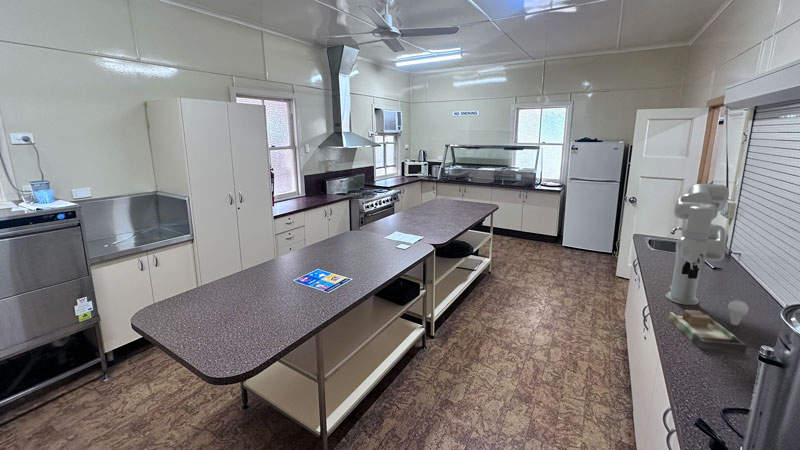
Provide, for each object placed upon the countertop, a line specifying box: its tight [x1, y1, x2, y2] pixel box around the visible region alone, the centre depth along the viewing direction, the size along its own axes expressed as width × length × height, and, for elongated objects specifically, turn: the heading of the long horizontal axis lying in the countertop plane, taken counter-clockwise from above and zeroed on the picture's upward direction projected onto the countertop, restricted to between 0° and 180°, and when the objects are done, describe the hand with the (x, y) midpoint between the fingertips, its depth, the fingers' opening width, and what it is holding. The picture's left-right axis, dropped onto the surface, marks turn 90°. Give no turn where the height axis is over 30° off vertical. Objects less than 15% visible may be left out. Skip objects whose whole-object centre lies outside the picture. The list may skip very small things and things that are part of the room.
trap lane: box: [668, 312, 748, 354], centre depth 140 cm, size 23×14×4 cm, turn 169°
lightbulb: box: [727, 300, 749, 326], centre depth 146 cm, size 6×6×11 cm
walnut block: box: [682, 309, 710, 327], centre depth 146 cm, size 6×6×4 cm
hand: (689, 275), depth 150 cm, fingers open, 3 cm apart
